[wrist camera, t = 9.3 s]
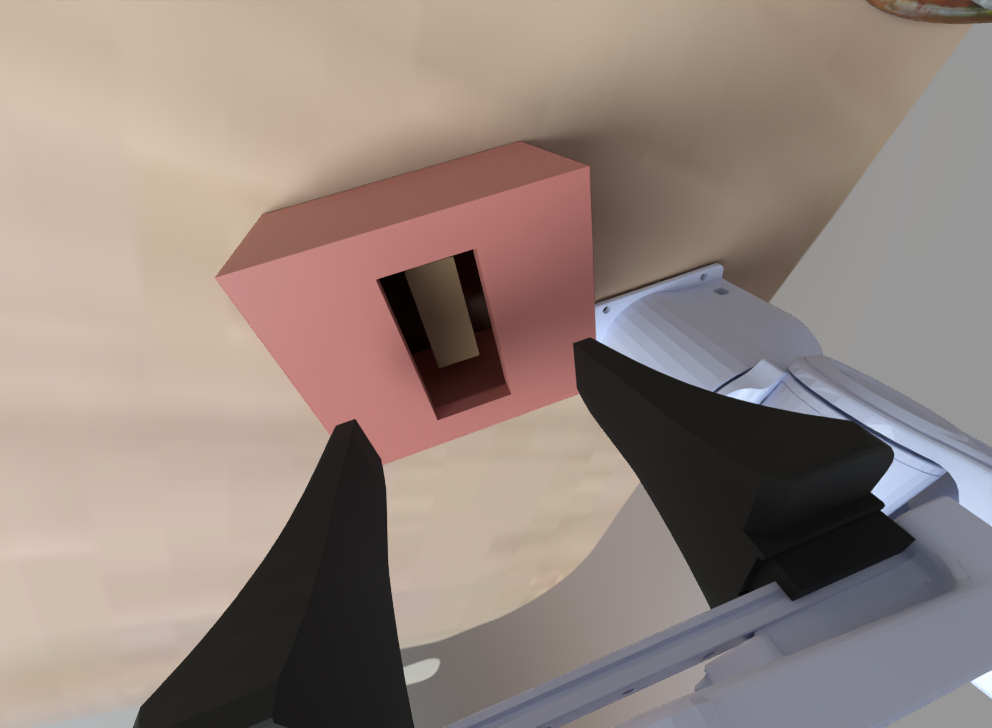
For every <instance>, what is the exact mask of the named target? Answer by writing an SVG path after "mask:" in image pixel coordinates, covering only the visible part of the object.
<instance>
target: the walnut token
mask: <svg viewBox="0 0 992 728" xmlns="http://www.w3.org/2000/svg"><path fill="white" fill-rule="evenodd" d="M404 273H405V276H406V278H407V281H408V284H409V287H410V289H411V292H412V295H413V298H414V300H415V303H416V306H417V309H418V311H419V314H420V317H421V320H422V322H423V325H424V328H425V331H426V333H427V336H428V339H429V342H430V344H431V347H432V350H433V353H434V355H435V358H436V361H437V364H438V366H439V368H441V367H444V366H448V365H451V364H454V363H457V362H460V361H463V360H466V359H469V358H472V357H475V356H478V355H479V351H478V347H477V344H476V340H475V336H474V332H473V329H472V325H471V321H470V317H469V314H468V310H467V306H466V303H465V299H464V295H463V291H462V288H461V284H460V280H459V276H458V273H457V269H456V265H455V261H454V258H453V256H450V257H447V258H443V259H440V260H437V261H434V262H431V263H427V264H424V265H421V266H418V267H415V268H411V269H408V270H405V271H404Z"/></svg>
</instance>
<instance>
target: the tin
mask: <svg viewBox="0 0 992 728" xmlns="http://www.w3.org/2000/svg"><path fill="white" fill-rule="evenodd" d="M867 1H869V2H870V3H871V4H872V5H874V6H876V7H877V8H879V9H882V10H884V11H886V12H889V13H891V14H894V15H897V16H900V17H904V18H907V19H912V20H916V21H925V22H931V23H946V24H968V23H991V22H992V0H867Z"/></svg>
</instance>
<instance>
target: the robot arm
mask: <svg viewBox="0 0 992 728" xmlns="http://www.w3.org/2000/svg"><path fill="white" fill-rule="evenodd" d="M723 270H724V267H723V265H721V264H718V263H715V264H712V265H709V266H706V267H703V268H700V269H697V270H694V271H691V272H688V273H685V274H682V275H679V276H676V277H673V278H670V279H667V280H664V281H661V282H658V283H655V284H653V285H650V286H647V287H644V288H641V289H638V290H635V291H632V292H629V293H626V294H623V295H620V296H617V297H614V298H611V299H608V300H605V301H602V302H599V303H596V304H595V322H596V340H595V339H593V338H591V337H589V338H586V339H584V340H581V341H578V342H575V343H573V351H574V362H575V374H576V385H577V390H578V392H579V394H580V395H581V397H582V399H583V401H584V403H585V404H586V406H587V408H588V410H589V411H590V413H591V414H592V416H593V417H594V418H595V420H596V421H597V423H598V424H599V425H600V427H601V428H602V429H603V431H604V432H605V433H606V435H607V436H608V437H609V438H610V440H611V441H612V442H613V444H614V445H615V446H616V448H617V449H618V450H619V452H620V453H621V454H622V456H623V457H624V458H625V460H626V461H627V462H628V464H629V465H630V466H631V468H632V469H633V471H634V472H635V474H636V475H637V477H638V478H639V480H640V481H641V483H642V485H643V486H644V488H645V490H646V491H647V493H648V495H649V496H650V498H651V500H652V501H653V503H654V505H655V506H656V508H657V510H658V511H659V513H660V515H661V517H662V518H663V520H664V522H665V524H666V525H667V527H668V529H669V531H670V532H671V534H672V536H673V538H674V540H675V542H676V543H677V545H678V547H679V549H680V551H681V552H682V554H683V556H684V558H685V560H686V562H687V563H688V565H689V567H690V569H691V571H692V573H693V575H694V577H695V579H696V581H697V583H698V585H699V586H700V588H701V590H702V592H703V594H704V596H705V598H706V600H707V602H708V604H709V606H710V608H711V610H709V611H706V612H704V613H702V614H700V615H697V616H695V617H693V618H690V619H688V620H686V621H684V622H681V623H679V624H677V625H675V626H672V627H670V628H668V629H665V630H663V631H661V632H659V633H656V634H654V635H652V636H650V637H647V638H645V639H643V640H641V641H638V642H636V643H634V644H631V645H629V646H627V647H624V648H622V649H620V650H618V651H616V652H613V653H611V654H609V655H606V656H604V657H602V658H599V659H597V660H595V661H593V662H590V663H588V664H586V665H584V666H582V667H579V668H577V669H574V670H572V671H570V672H568V673H565V674H563V675H561V676H559V677H556V678H554V679H552V680H549V681H547V682H545V683H543V684H540V685H538V686H536V687H533V688H531V689H529V690H527V691H524V692H522V693H520V694H518V695H516V696H513V697H511V698H509V699H506V700H504V701H502V702H499V703H497V704H495V705H493V706H490V707H488V708H486V709H484V710H481V711H479V712H477V713H474V714H472V715H470V716H468V717H465V718H463V719H461V720H458V721H456V722H454V723H452V724H449V725H447V726H445V727H443V728H558V727H560V726H562V725H565V724H567V723H569V722H571V721H573V720H575V719H578V718H580V717H582V716H584V715H586V714H589V713H591V712H593V711H595V710H598V709H600V708H602V707H604V706H606V705H609V704H611V703H613V702H615V701H617V700H620V699H622V698H624V697H626V696H628V695H631V694H633V693H635V692H637V691H639V690H642V689H644V688H646V687H648V686H650V685H653V684H655V683H657V682H659V681H661V680H664V679H666V678H668V677H670V676H672V675H675V674H677V673H679V672H681V671H683V670H686V669H688V668H690V667H692V666H694V665H697V664H699V663H701V662H703V661H705V660H708V659H710V658H712V657H714V656H716V655H719V654H721V653H723V652H725V651H727V650H730V649H731V650H730V651H728V652H726V653H725V654H723V655H721V656H720V657H718V658H717V659H715V660H713V661H712V662H710V663H708V664H707V665H706V666H705V672H706V675H705V677H704V678H703V679H702V680H701V681H700V682H699V683H698V684H697V685H696V686H695V692H693V693H691V694H688V695H686V696H683V697H681V698H678V699H676V700H674V701H671V702H669V703H666V704H664V705H661V706H659V707H657V708H654V709H652V710H649V711H647V712H645V713H642V714H640V715H638V716H636V717H633V718H631V719H629V720H627V721H624V722H622V723H619V724H618V725H616V726H613V727H611V728H885V727H887V726H888V725H890V724H892V723H894V722H896V721H898V720H900V719H901V718H903V717H905V716H907V715H909V714H911V713H913V712H915V711H917V710H918V709H920V708H922V707H924V706H926V705H927V704H930V703H931V702H933V701H935V700H937V699H939V698H941V697H943V696H945V695H946V694H948V693H950V692H952V691H954V690H956V689H958V688H960V687H961V686H963V685H965V684H967V683H969V682H971V683H972V684H973V685H975V686H976V687H977V688H979V689H980V690H981V691H982V692H984V693H985V694H986V695H988V696H989V697H990V698H991V699H992V448H991V447H990V446H988V445H987V444H985V443H983V442H981V441H980V440H978V439H976V438H974V437H972V436H970V435H968V434H966V433H965V432H963V431H961V430H960V429H959V428H957V427H956V426H954V425H953V424H951V423H950V422H949V421H947V420H946V419H944V418H942V417H941V416H939V415H937V414H936V413H934V412H933V411H931V410H929V409H928V408H926V407H924V406H923V405H921V404H919V403H918V402H916V401H914V400H912V399H911V398H909V397H907V396H905V395H904V394H902V393H900V392H898V391H896V390H894V389H893V388H891V387H889V386H887V385H885V384H883V383H882V382H879V381H878V380H876V379H874V378H872V377H870V376H868V375H866V374H864V373H862V372H860V371H858V370H856V369H854V368H852V367H850V366H848V365H845V364H843V363H841V362H839V361H836V360H834V359H831V358H829V357H826V356H823V353H822V350H821V347H820V345H819V343H818V342H817V340H816V339H815V337H814V336H813V334H812V333H811V332H810V330H809V329H808V328H807V327H806V326H805V325H804V324H803V323H802V322H800V321H799V320H798V319H797V318H795V317H793V316H791V315H790V314H788V313H786V312H784V311H782V310H781V309H779V308H777V307H775V306H773V305H771V304H769V303H768V302H766V301H764V300H762V299H760V298H758V297H756V296H754V295H753V294H751V293H749V292H747V291H745V290H743V289H741V288H740V287H738V286H736V285H734V284H732V283H730V282H728V281H726V280H725V279H723V278H722V275H723ZM701 276H702V277H701ZM605 307H607V309H606V310H604V311H603V309H604V308H605ZM734 647H735V648H734ZM732 648H733V649H732ZM133 728H414V724H413V719H412V714H411V709H410V703H409V698H408V693H407V688H406V682H405V677H404V671H403V665H402V659H401V654H400V648H399V642H398V635H397V628H396V622H395V615H394V608H393V601H392V593H391V585H390V577H389V566H388V540H387V502H386V485H385V478H384V472H383V466H382V461H381V458H380V456H379V455H378V453H377V452H376V450H375V449H374V447H373V445H372V444H371V442H370V441H369V439H368V438H367V436H366V435H365V433H364V431H363V430H362V428H361V427H360V425H359V424H358V422H357V421H356V419H353V420H350V421H347V422H344V423H342V424H339V425H336V426H335V428H334V430H333V432H332V434H331V436H330V439H329V441H328V443H327V445H326V447H325V450H324V452H323V454H322V456H321V458H320V460H319V463H318V465H317V467H316V469H315V471H314V473H313V475H312V477H311V479H310V481H309V483H308V485H307V487H306V489H305V491H304V493H303V495H302V497H301V499H300V501H299V502H298V504H297V506H296V508H295V510H294V512H293V513H292V515H291V517H290V519H289V521H288V522H287V524H286V526H285V527H284V529H283V531H282V532H281V534H280V536H279V537H278V539H277V540H276V542H275V543H274V545H273V546H272V548H271V549H270V551H269V553H268V554H267V556H266V557H265V559H264V560H263V561H262V563H261V564H260V566H259V567H258V568H257V570H256V571H255V572H254V574H253V575H252V577H251V578H250V579H249V581H248V582H247V583H246V585H245V586H244V587H243V589H242V590H241V592H240V593H239V594H238V596H237V597H236V598H235V600H234V601H233V602H232V603H231V605H230V606H229V607H228V608H227V610H226V611H225V612H224V613H223V615H222V616H221V617H220V618H219V620H218V621H217V622H216V623H215V624H214V626H213V627H212V628H211V629H210V630H209V632H208V633H207V634H206V635H205V636H204V638H203V639H202V640H201V641H200V642H199V643H198V645H197V646H196V647H195V648H194V649H193V650H192V651H191V653H190V654H189V655H188V656H187V657H186V658H185V659H184V660H183V662H182V663H181V664H180V665H179V666H178V667H177V668H176V669H175V670H174V671H173V672H172V674H171V675H170V676H169V677H168V678H167V679H166V680H165V681H164V682H163V683H162V684H161V686H160V687H159V688H158V689H157V690H156V691H155V692H154V693H153V694H152V695H151V696H150V698H149V699H148V700H147V701H146V702H145V703H144V704H143V705H142V706H141V707H140V710H139V713H138V715H137V718H136V720H135V723H134V726H133Z"/></svg>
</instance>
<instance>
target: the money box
mask: <svg viewBox="0 0 992 728" xmlns="http://www.w3.org/2000/svg"><path fill="white" fill-rule="evenodd" d="M472 249H473V251H474V255H475V259H476V264H477V268H478V272H479V276H480V280H481V284H482V288H483V292H484V296H485V300H486V304H487V308H488V312H489V316H490V320H491V324H492V328H490V329H487V330H484V331H481V332H478V333H475V334H474V336H475V340H476V344H477V347H478V351H479V355H478V356H475V357H472V358H469V359H466V360H463V361H460V362H457V363H454V364H451V365H448V366H444V367H441V368H439V366H438V364H437V361H436V358H435V355H434V353H433V350H432V348H430V349H427V350H424V351H421V352H418V353H416V354H413V355H411V352H410V350H409V348H408V346H407V343H406V341H405V339H404V336H403V334H402V332H401V329H400V327H399V325H398V323H397V320H396V318H395V316H394V313H393V311H392V309H391V306H390V304H389V302H388V299H387V297H386V295H385V293H384V290H383V288H382V286H381V283H380V281H379V278H383V277H386V276H389V275H392V274H395V273H399V272H402V271H405V270H408V269H411V268H415V267H418V266H421V265H424V264H427V263H431V262H434V261H437V260H440V259H443V258H447V257H450V256H453V255H456V254H459V253H463V252H466V251H469V250H472ZM215 279H216V280H217V281H218V283H219V284H220V286H221V287H222V288H223V290H224V291H225V292H226V294H227V295H228V296H229V298H230V299H231V301H232V302H233V303H234V305H235V306H236V307H237V309H238V310H239V311H240V313H241V314H242V316H243V317H244V318H245V320H246V321H247V322H248V324H249V325H250V326H251V328H252V329H253V331H254V332H255V333H256V335H257V336H258V337H259V339H260V340H261V342H262V343H263V344H264V346H265V347H266V348H267V350H268V351H269V352H270V354H271V355H272V357H273V358H274V359H275V361H276V362H277V363H278V365H279V366H280V367H281V369H282V370H283V372H284V373H285V374H286V376H287V377H288V378H289V380H290V381H291V382H292V384H293V385H294V387H295V388H296V389H297V391H298V392H299V393H300V395H301V396H302V397H303V399H304V400H305V402H306V403H307V404H308V406H309V407H310V408H311V410H312V411H313V412H314V414H315V415H316V417H317V418H318V419H319V421H320V422H321V423H322V425H323V426H324V427H325V429H326V430H327V432H328V433H329V434H330V436H331V434H332V432H333V430H334V428H335V426H336V425H339V424H342V423H344V422H347V421H350V420H353V419H356V421H357V422H358V424H359V425H360V427H361V428H362V430H363V431H364V433H365V435H366V436H367V438H368V439H369V441H370V442H371V444H372V445H373V447H374V449H375V450H376V452H377V453H378V455H379V456H380V458H381V461H382V465H384V464H387V463H390V462H392V461H395V460H398V459H401V458H403V457H406V456H409V455H412V454H414V453H417V452H420V451H423V450H425V449H428V448H431V447H434V446H436V445H439V444H442V443H445V442H448V441H450V440H453V439H456V438H459V437H461V436H464V435H467V434H470V433H472V432H475V431H478V430H481V429H483V428H486V427H489V426H492V425H494V424H497V423H500V422H503V421H505V420H508V419H511V418H514V417H517V416H519V415H522V414H525V413H528V412H530V411H533V410H536V409H539V408H541V407H544V406H547V405H550V404H552V403H555V402H558V401H561V400H563V399H566V398H569V397H572V396H575V395H577V394H579V392H578V390H577V385H576V374H575V362H574V351H573V343H575V342H578V341H581V340H584V339H586V338H589V337H591V338H593V339H595V340H596V322H595V296H594V270H593V244H592V218H591V192H590V166H588V165H585V164H583V163H580V162H577V161H574V160H571V159H568V158H566V157H563V156H560V155H557V154H554V153H551V152H549V151H546V150H543V149H540V148H537V147H535V146H532V145H529V144H526V143H523V142H520V141H518V142H514V143H511V144H507V145H504V146H500V147H497V148H493V149H490V150H486V151H483V152H479V153H476V154H472V155H469V156H465V157H462V158H458V159H455V160H451V161H448V162H444V163H441V164H437V165H434V166H430V167H427V168H423V169H420V170H416V171H413V172H409V173H406V174H402V175H399V176H395V177H392V178H388V179H385V180H381V181H378V182H374V183H371V184H367V185H364V186H360V187H357V188H353V189H350V190H346V191H343V192H339V193H336V194H332V195H329V196H325V197H322V198H318V199H315V200H311V201H308V202H304V203H301V204H297V205H294V206H290V207H287V208H283V209H280V210H276V211H273V212H269V213H266V214H262V215H261V217H260V218H259V219H258V221H257V222H256V223H255V225H254V226H253V227H252V229H251V230H250V231H249V233H248V234H247V235H246V237H245V238H244V239H243V241H242V242H241V243H240V245H239V246H238V247H237V249H236V250H235V251H234V253H233V254H232V255H231V257H230V258H229V260H228V261H227V262H226V264H225V265H224V266H223V268H222V269H221V270H220V272H219V273H218V274H217V276H216V277H215Z"/></svg>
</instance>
